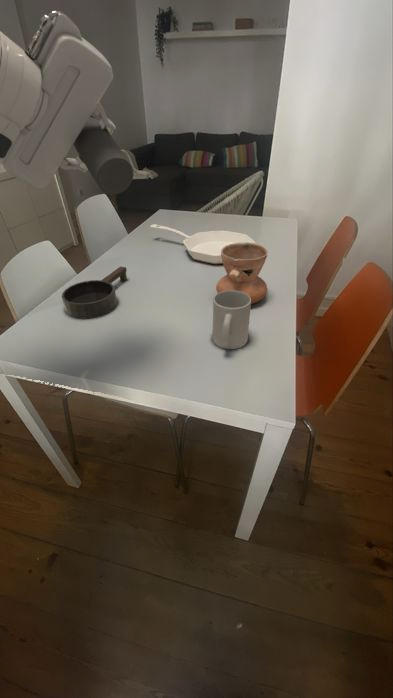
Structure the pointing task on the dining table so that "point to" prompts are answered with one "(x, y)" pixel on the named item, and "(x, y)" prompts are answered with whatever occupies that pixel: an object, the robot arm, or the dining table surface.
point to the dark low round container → (89, 299)
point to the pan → (209, 243)
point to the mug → (231, 319)
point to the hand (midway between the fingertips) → (98, 149)
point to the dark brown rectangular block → (116, 275)
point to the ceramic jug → (243, 270)
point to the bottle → (103, 158)
